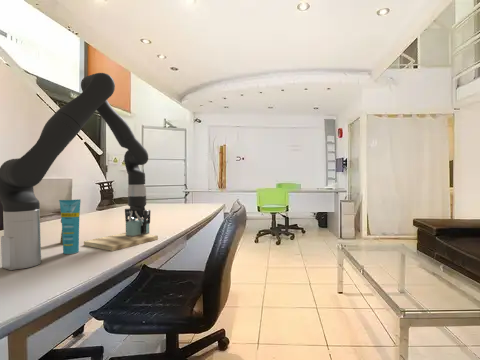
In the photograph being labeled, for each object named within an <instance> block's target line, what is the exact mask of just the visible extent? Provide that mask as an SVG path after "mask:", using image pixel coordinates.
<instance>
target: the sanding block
mask: <svg viewBox="0 0 480 360" xmlns="http://www.w3.org/2000/svg"><path fill="white" fill-rule="evenodd" d="M142 221H143V220H142ZM143 222H144V221H143ZM125 233H126V236H129V237H136V236H140V235H145V234H141V223H140V221H138V219H136V220H135V221H129V222H126V221H125ZM146 234H150V224H147V225H146Z"/></svg>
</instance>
